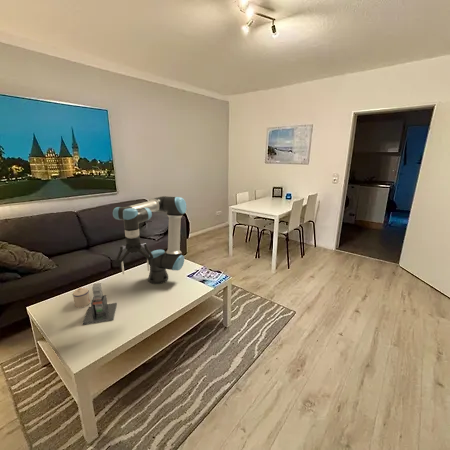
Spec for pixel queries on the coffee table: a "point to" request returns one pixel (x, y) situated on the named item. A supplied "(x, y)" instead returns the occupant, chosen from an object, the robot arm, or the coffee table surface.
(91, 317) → the stand base
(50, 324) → the coffee table surface
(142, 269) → the coffee table surface
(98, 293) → the column
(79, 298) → the teacup with lid
